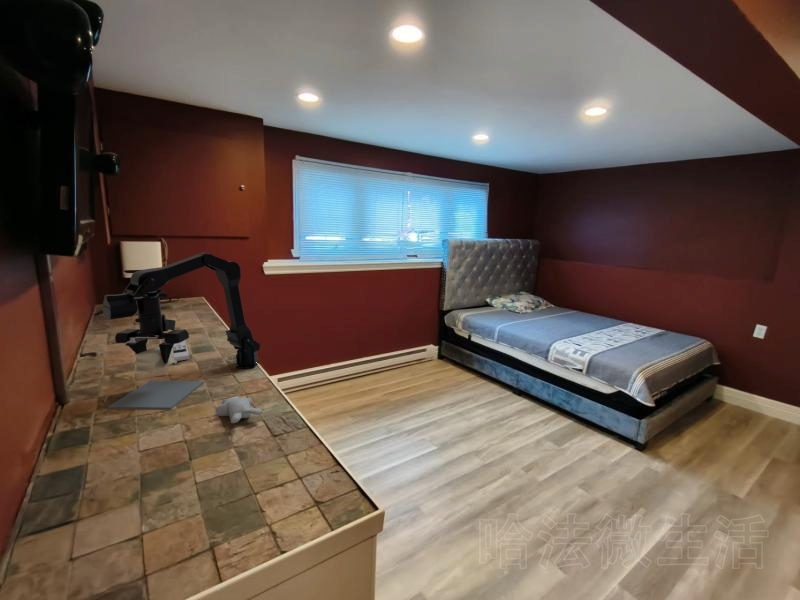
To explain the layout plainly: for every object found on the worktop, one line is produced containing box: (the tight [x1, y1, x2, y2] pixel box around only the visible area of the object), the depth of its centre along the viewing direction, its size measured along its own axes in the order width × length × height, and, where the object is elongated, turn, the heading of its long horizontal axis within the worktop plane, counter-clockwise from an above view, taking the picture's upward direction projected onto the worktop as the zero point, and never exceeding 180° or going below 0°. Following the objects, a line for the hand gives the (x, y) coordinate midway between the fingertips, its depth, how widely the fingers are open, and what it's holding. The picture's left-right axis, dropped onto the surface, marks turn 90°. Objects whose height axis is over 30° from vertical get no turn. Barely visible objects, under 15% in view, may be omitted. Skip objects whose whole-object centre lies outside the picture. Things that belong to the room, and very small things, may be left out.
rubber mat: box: [107, 380, 205, 410], centre depth 112 cm, size 18×18×1 cm
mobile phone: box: [173, 339, 190, 365], centre depth 148 cm, size 6×6×25 cm
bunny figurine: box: [215, 395, 263, 424], centre depth 99 cm, size 10×5×15 cm
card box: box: [135, 345, 174, 373], centre depth 110 cm, size 8×6×5 cm
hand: (156, 363), depth 110 cm, fingers closed on card box, 6 cm apart
